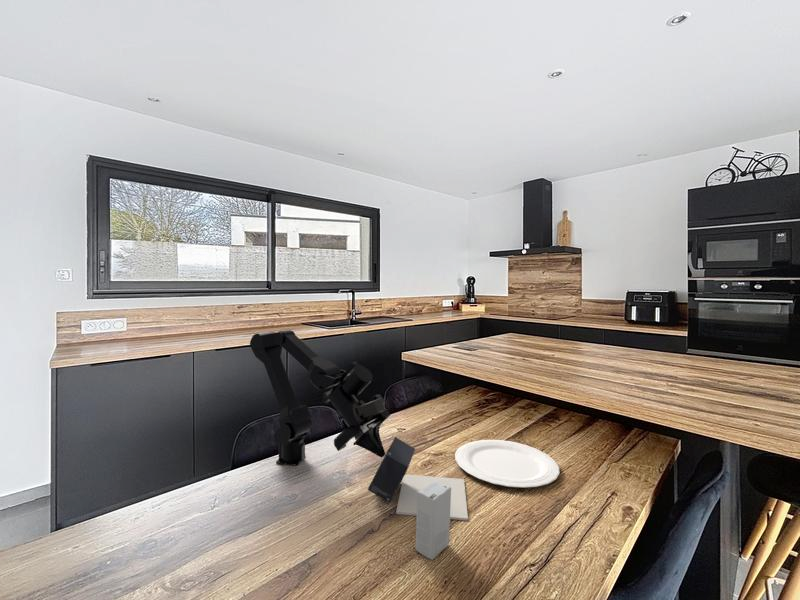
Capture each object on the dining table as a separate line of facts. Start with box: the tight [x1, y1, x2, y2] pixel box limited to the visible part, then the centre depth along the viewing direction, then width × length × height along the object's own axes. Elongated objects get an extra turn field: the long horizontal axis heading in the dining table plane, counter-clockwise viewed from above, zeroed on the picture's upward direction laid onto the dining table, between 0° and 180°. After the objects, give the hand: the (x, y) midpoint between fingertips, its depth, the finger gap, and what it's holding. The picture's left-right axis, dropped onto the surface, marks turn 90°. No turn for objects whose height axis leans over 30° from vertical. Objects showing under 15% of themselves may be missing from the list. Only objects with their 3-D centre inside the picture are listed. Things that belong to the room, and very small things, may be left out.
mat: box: [395, 473, 469, 522], centre depth 93 cm, size 16×17×1 cm
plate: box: [454, 439, 560, 489], centre depth 110 cm, size 29×29×2 cm
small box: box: [367, 436, 416, 504], centre depth 94 cm, size 11×6×10 cm, turn 168°
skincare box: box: [414, 481, 451, 561], centre depth 74 cm, size 6×4×12 cm
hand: (383, 456), depth 94 cm, fingers closed
